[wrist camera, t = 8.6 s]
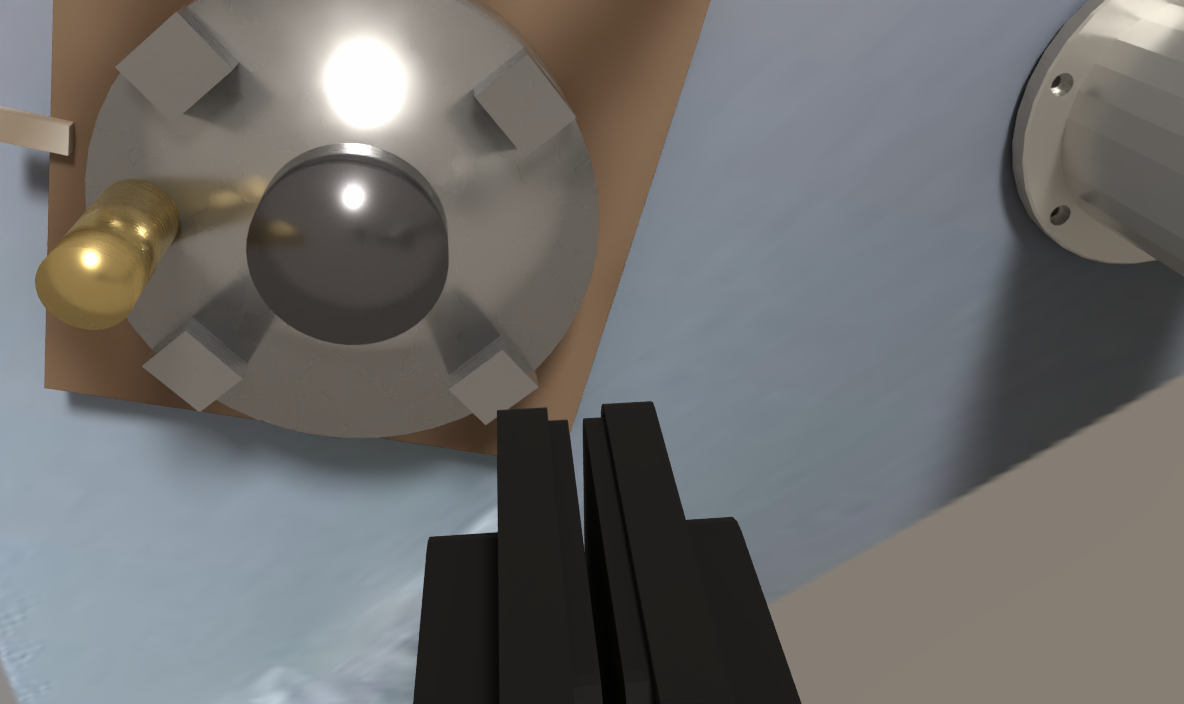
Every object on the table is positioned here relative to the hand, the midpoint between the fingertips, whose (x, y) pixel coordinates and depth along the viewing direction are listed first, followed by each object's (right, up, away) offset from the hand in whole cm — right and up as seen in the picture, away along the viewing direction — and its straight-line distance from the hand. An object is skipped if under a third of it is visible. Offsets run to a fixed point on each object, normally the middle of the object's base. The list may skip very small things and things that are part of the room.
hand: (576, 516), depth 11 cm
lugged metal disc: (-8, +7, +23) cm, 25 cm away
